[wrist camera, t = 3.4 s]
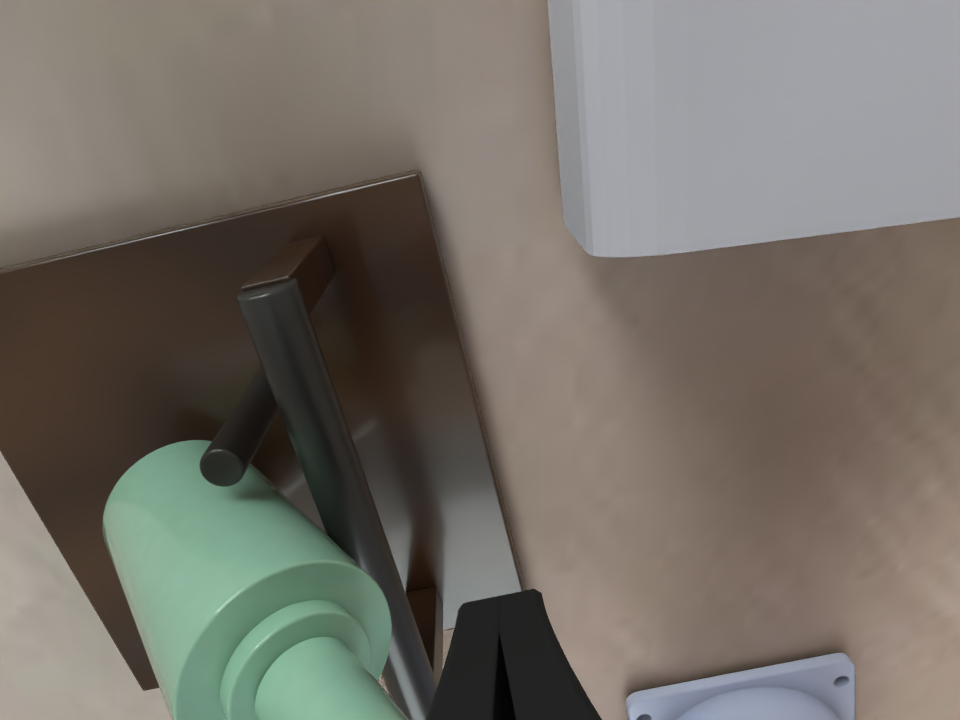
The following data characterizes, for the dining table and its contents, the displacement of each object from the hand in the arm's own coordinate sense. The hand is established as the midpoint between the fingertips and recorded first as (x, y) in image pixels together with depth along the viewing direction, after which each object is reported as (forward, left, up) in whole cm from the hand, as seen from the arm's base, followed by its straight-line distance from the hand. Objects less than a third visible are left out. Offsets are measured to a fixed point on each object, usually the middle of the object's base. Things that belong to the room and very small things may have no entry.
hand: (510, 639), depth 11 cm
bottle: (0, +7, -8) cm, 10 cm away
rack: (0, +7, -8) cm, 11 cm away
